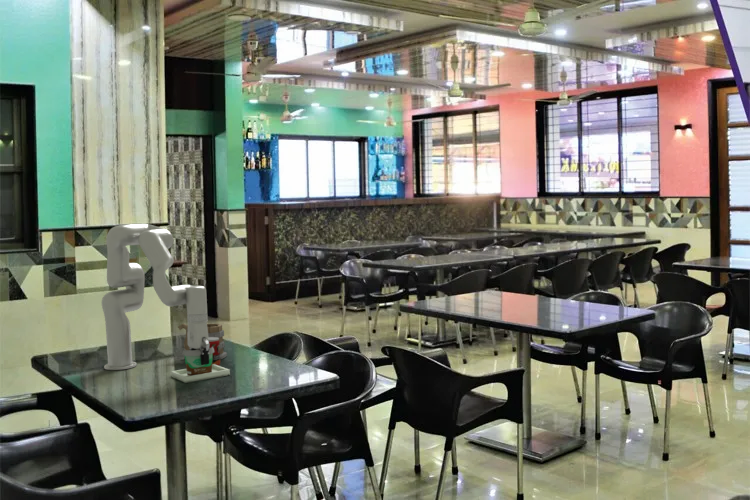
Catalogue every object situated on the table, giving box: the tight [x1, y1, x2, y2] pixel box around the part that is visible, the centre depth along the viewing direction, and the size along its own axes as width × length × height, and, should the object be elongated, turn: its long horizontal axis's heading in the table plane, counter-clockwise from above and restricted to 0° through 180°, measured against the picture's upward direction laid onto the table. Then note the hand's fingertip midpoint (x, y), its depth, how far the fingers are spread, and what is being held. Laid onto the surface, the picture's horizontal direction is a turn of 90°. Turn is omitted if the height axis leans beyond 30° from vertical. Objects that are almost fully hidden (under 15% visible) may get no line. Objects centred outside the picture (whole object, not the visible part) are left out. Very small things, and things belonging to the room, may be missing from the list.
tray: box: [170, 364, 231, 383], centre depth 299 cm, size 14×18×2 cm
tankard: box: [177, 323, 228, 360], centre depth 333 cm, size 20×13×15 cm, turn 80°
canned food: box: [208, 337, 221, 366], centre depth 317 cm, size 8×8×11 cm
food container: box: [181, 346, 215, 376], centre depth 297 cm, size 12×6×10 cm, turn 119°
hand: (199, 362), depth 298 cm, fingers open, 9 cm apart
